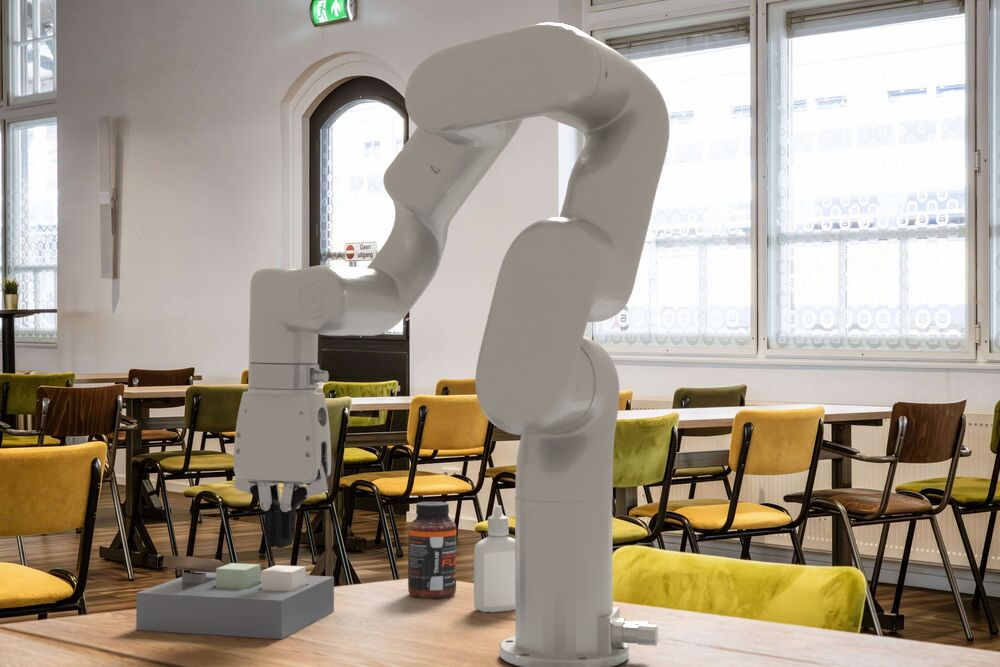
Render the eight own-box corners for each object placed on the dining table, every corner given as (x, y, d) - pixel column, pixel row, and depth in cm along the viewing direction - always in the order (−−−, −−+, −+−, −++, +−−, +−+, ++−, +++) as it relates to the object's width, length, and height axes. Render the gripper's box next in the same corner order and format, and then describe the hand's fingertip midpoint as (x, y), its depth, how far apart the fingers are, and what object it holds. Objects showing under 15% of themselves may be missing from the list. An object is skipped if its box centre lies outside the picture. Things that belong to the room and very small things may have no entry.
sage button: (260, 592, 137) (260, 564, 137) (245, 599, 133) (245, 570, 133) (231, 591, 138) (231, 563, 138) (216, 597, 134) (216, 568, 134)
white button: (305, 595, 135) (305, 566, 136) (292, 601, 132) (292, 572, 132) (276, 593, 136) (276, 565, 136) (261, 600, 133) (261, 570, 133)
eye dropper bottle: (522, 613, 139) (522, 508, 139) (473, 613, 139) (473, 508, 139) (522, 605, 144) (521, 503, 144) (474, 605, 144) (474, 503, 144)
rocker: (222, 572, 140) (224, 560, 141) (188, 567, 133) (190, 554, 133) (197, 571, 141) (199, 559, 141) (162, 566, 134) (164, 553, 134)
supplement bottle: (449, 600, 146) (449, 506, 146) (402, 599, 147) (402, 505, 148) (461, 591, 152) (461, 500, 152) (415, 589, 153) (415, 499, 153)
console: (333, 611, 140) (333, 567, 140) (281, 639, 127) (281, 591, 127) (200, 604, 145) (200, 561, 145) (136, 630, 131) (136, 583, 131)
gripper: (358, 380, 136) (355, 544, 136) (237, 377, 140) (233, 536, 140) (332, 382, 129) (329, 556, 129) (205, 379, 133) (201, 547, 133)
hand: (279, 545), depth 135 cm, fingers closed
